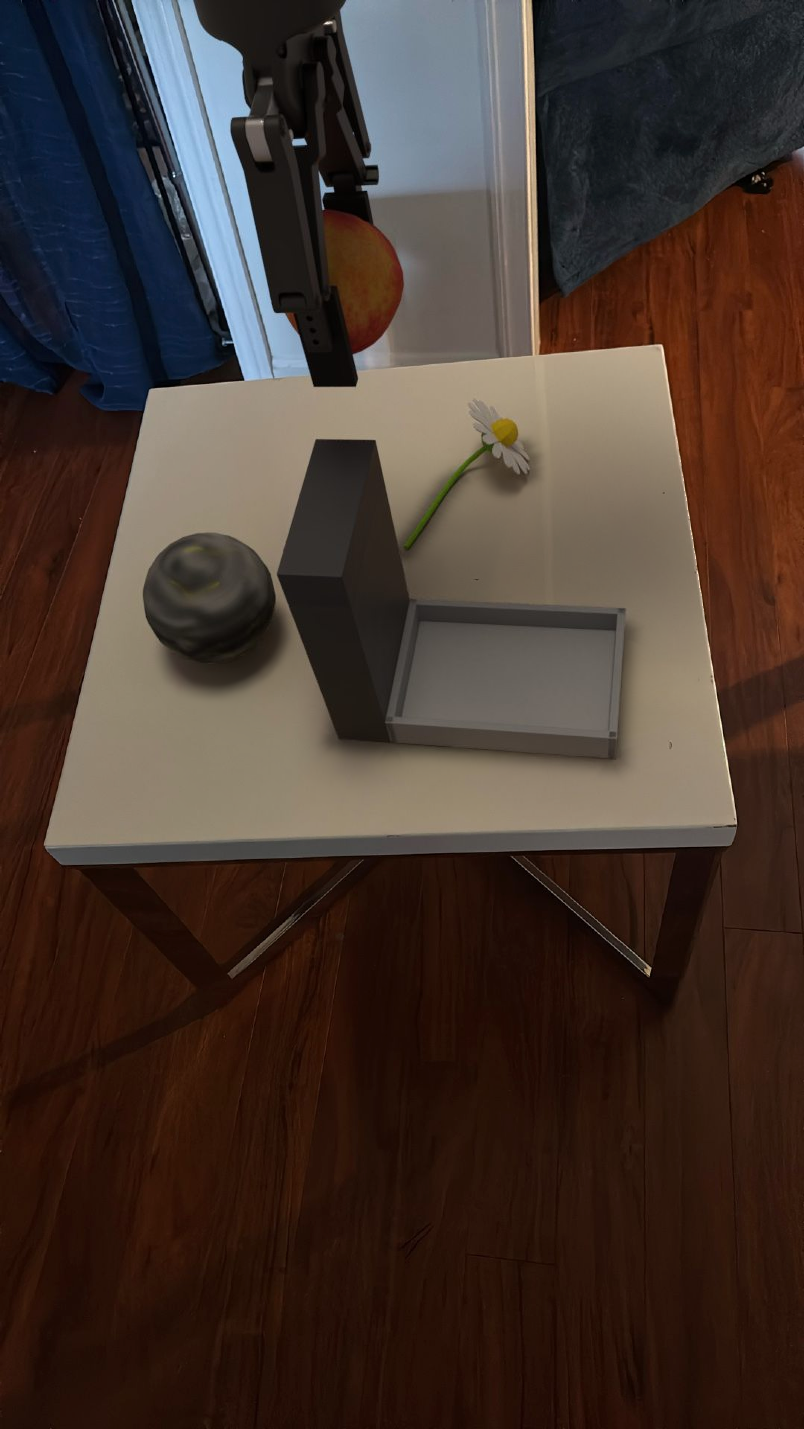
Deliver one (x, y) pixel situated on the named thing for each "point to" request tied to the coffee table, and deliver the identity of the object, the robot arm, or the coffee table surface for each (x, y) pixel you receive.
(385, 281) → the fruit
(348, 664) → the tray with tall back
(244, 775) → the coffee table surface
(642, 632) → the coffee table surface
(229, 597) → the decorative stone
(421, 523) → the decorative flower
